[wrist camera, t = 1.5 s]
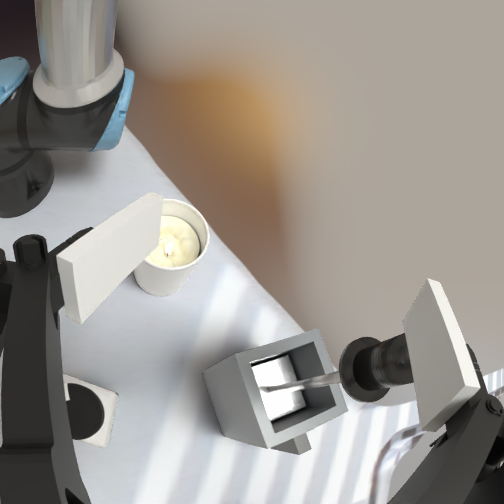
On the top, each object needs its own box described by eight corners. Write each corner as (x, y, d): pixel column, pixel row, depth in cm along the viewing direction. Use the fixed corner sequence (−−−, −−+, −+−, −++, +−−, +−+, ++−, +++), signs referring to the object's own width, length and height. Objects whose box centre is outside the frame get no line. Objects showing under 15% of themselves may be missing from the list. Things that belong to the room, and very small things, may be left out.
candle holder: (202, 288, 49) (223, 254, 39) (143, 311, 44) (146, 280, 34) (177, 235, 51) (190, 190, 41) (120, 253, 46) (119, 209, 36)
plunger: (235, 372, 35) (364, 317, 16) (286, 356, 38) (431, 289, 19) (254, 426, 33) (403, 430, 14) (303, 406, 36) (463, 379, 17)
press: (201, 371, 43) (234, 353, 30) (263, 353, 47) (318, 327, 34) (230, 454, 38) (277, 474, 25) (291, 431, 43) (356, 434, 29)
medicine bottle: (119, 394, 37) (113, 390, 27) (109, 442, 34) (99, 455, 24) (71, 377, 36) (49, 366, 26) (60, 424, 32) (34, 430, 22)
